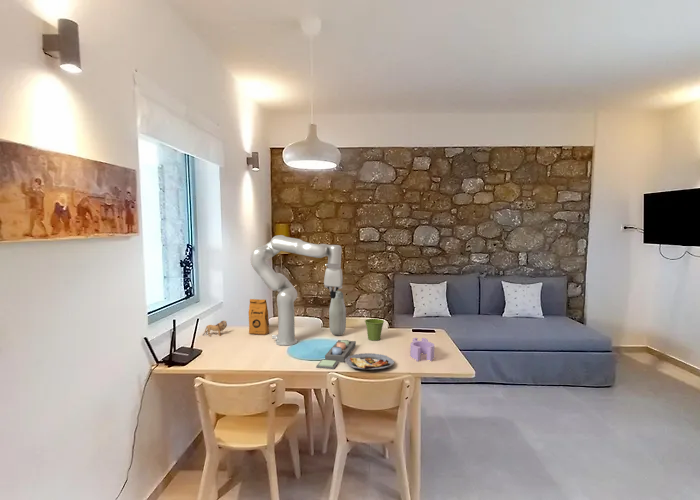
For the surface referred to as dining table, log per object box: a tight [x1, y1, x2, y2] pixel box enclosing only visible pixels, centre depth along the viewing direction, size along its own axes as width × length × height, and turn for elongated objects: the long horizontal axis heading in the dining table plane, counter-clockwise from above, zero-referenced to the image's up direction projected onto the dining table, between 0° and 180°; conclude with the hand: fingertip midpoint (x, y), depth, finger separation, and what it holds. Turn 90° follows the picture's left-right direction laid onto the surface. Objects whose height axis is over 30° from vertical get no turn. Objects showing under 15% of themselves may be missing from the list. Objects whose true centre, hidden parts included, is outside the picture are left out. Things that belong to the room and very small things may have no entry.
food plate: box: [344, 352, 395, 371], centre depth 218 cm, size 25×23×4 cm
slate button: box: [331, 346, 342, 355], centre depth 227 cm, size 5×5×4 cm
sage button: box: [340, 339, 350, 345], centre depth 244 cm, size 5×5×4 cm
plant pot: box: [364, 318, 385, 341], centre depth 262 cm, size 12×12×11 cm
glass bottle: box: [328, 289, 347, 336], centre depth 271 cm, size 10×10×28 cm
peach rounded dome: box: [337, 342, 346, 350], centre depth 235 cm, size 5×5×4 cm
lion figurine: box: [202, 320, 228, 337], centre depth 270 cm, size 15×5×9 cm, turn 104°
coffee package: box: [248, 298, 270, 336], centre depth 274 cm, size 10×12×22 cm
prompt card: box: [315, 359, 340, 370], centre depth 217 cm, size 9×9×1 cm
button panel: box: [324, 339, 357, 363], centre depth 235 cm, size 10×28×3 cm, turn 167°
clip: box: [409, 337, 435, 362], centre depth 232 cm, size 20×12×7 cm, turn 178°
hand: (332, 298), depth 250 cm, fingers closed
